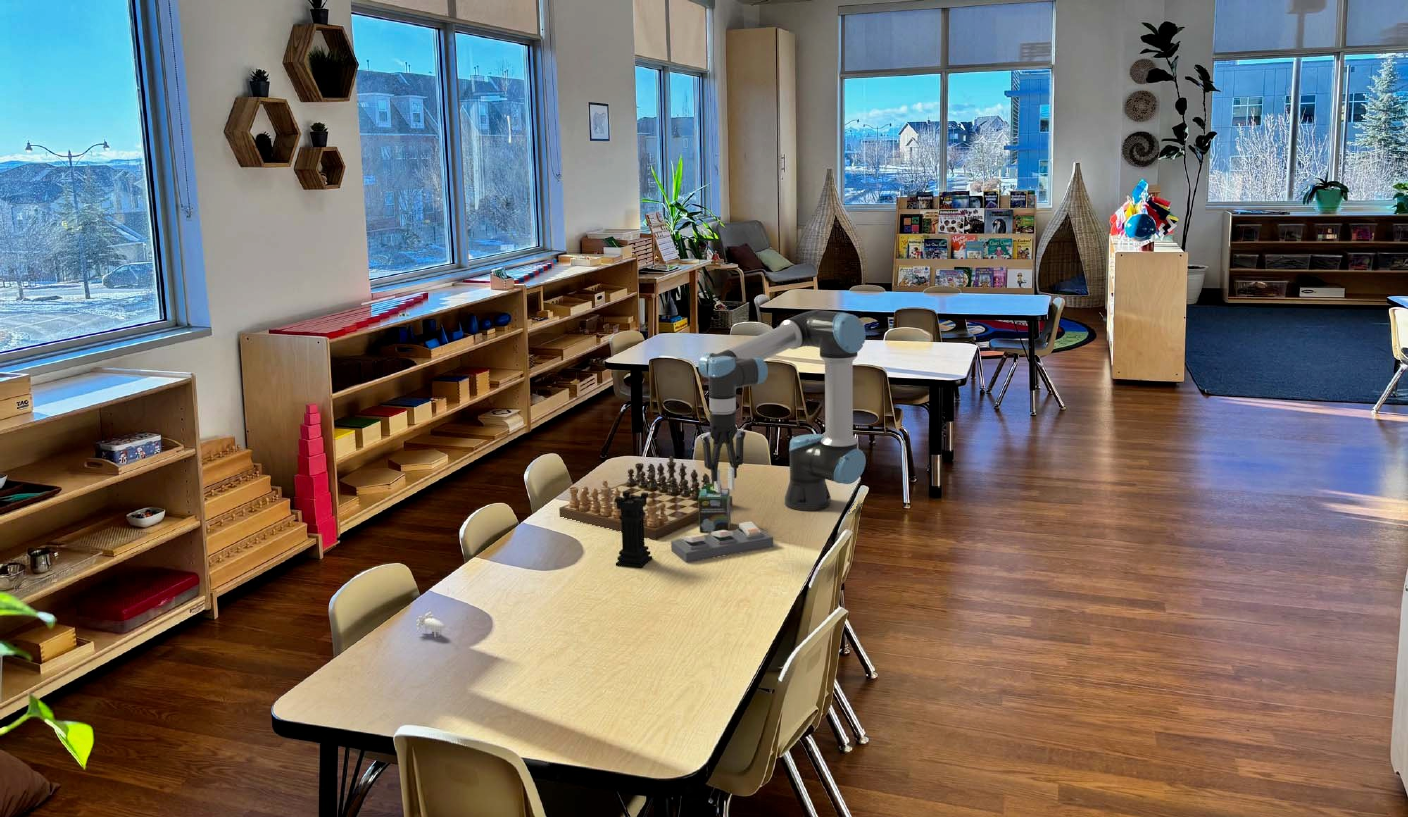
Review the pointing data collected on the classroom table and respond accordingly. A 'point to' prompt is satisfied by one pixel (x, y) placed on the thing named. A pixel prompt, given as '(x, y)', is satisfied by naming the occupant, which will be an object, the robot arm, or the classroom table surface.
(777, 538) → the classroom table surface
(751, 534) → the rocker
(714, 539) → the rocker switch panel
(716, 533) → the middle rocker
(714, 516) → the chalk box
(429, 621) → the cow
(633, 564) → the chess piece
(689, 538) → the rocker
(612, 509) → the chess set
